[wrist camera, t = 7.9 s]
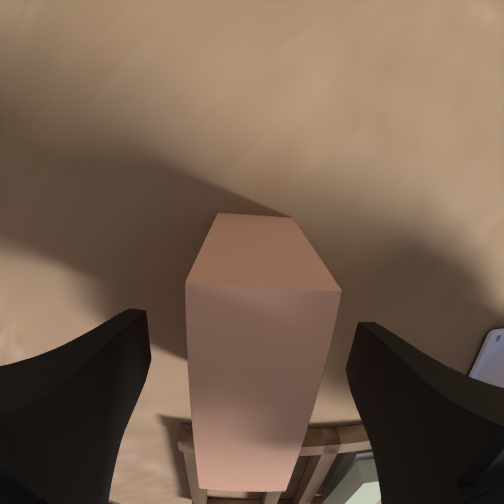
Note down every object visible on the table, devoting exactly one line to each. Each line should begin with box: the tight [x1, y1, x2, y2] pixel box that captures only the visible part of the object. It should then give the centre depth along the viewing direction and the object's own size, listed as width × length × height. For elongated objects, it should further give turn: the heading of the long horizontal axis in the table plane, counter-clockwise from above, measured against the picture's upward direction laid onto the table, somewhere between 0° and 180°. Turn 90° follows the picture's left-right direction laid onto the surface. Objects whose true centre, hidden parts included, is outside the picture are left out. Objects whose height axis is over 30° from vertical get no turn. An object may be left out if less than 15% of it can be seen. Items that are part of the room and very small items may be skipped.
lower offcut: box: [322, 449, 374, 502], centre depth 18 cm, size 3×9×2 cm, turn 176°
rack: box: [178, 423, 372, 504], centre depth 17 cm, size 15×12×2 cm
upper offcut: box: [322, 459, 381, 504], centre depth 16 cm, size 3×7×2 cm, turn 170°
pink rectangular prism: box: [185, 213, 342, 492], centre depth 10 cm, size 3×8×7 cm, turn 176°
